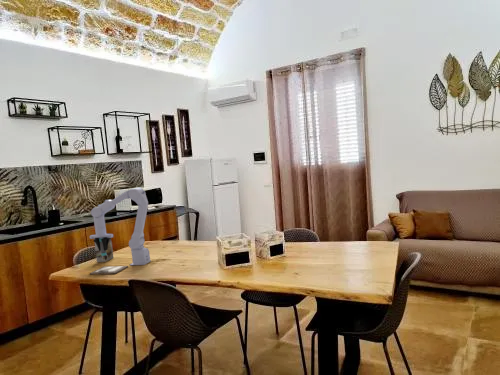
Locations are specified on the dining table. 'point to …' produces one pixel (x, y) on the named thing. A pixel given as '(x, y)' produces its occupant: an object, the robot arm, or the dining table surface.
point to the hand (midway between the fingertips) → (103, 250)
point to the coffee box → (108, 252)
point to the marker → (102, 248)
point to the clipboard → (109, 270)
